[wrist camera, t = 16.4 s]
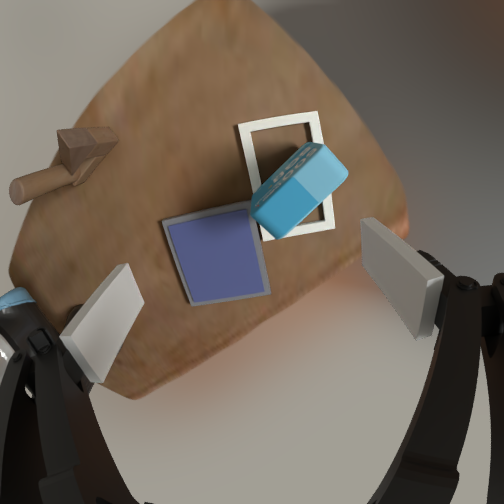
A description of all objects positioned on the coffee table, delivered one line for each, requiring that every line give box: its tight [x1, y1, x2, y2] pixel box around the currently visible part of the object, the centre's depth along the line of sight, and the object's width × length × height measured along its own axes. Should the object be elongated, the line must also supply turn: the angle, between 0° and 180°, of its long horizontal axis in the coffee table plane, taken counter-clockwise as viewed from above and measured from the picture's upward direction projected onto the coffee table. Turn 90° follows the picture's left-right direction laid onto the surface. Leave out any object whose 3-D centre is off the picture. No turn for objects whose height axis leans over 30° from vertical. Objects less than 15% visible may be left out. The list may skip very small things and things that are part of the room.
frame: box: [238, 111, 335, 241], centre depth 41 cm, size 12×19×1 cm, turn 12°
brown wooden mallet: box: [9, 127, 119, 205], centre depth 31 cm, size 4×11×18 cm, turn 128°
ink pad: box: [162, 200, 271, 306], centre depth 46 cm, size 15×17×2 cm
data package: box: [250, 142, 348, 239], centre depth 35 cm, size 12×4×12 cm, turn 136°
